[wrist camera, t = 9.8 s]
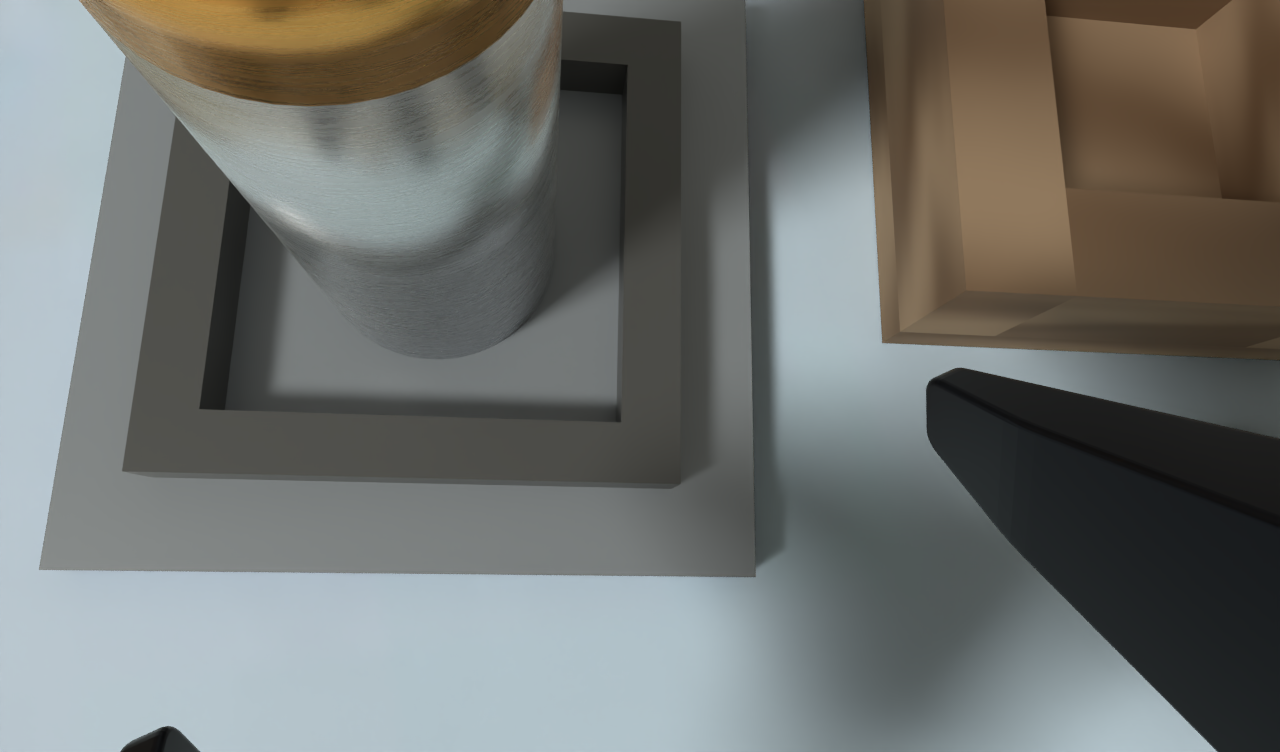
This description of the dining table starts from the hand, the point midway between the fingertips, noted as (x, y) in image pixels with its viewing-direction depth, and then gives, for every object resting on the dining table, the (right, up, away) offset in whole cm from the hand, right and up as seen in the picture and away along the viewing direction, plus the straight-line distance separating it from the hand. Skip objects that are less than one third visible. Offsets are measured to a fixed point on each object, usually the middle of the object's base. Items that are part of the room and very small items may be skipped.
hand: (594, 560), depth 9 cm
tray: (-4, +5, +10) cm, 11 cm away
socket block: (+12, +8, +12) cm, 19 cm away
